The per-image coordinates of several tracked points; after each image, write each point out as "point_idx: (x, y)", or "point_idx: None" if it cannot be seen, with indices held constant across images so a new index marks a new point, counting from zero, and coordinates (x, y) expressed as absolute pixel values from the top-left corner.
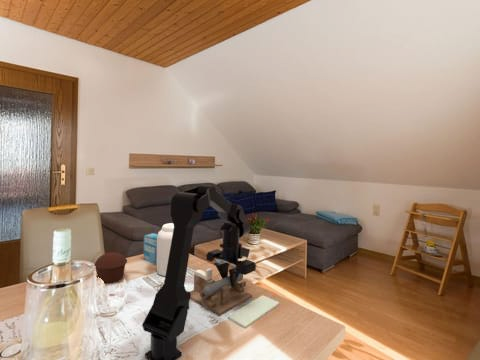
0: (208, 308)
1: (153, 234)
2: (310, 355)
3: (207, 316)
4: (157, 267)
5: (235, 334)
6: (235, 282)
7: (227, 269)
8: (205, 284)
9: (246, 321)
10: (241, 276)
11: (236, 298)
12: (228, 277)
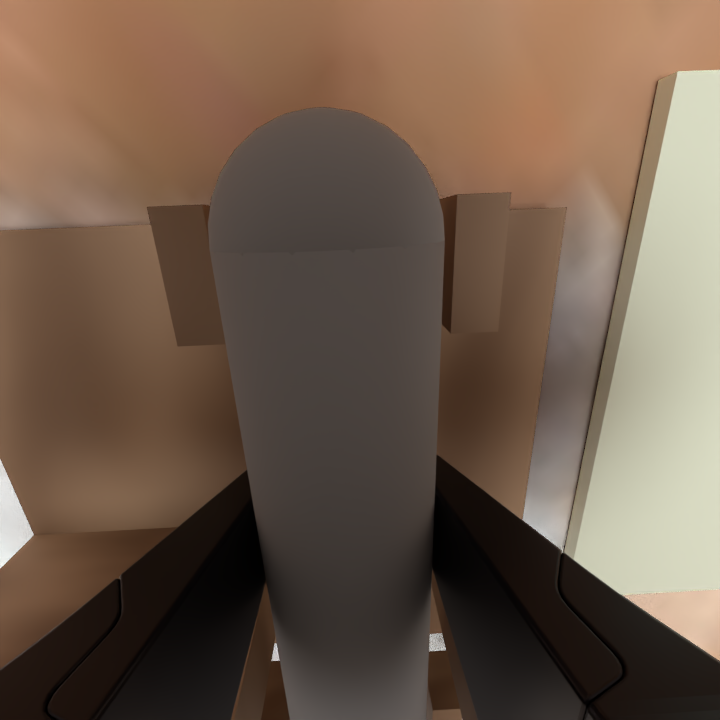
0: None
1: None
2: None
3: (436, 647)
4: None
5: (687, 636)
6: (473, 491)
7: (134, 706)
8: None
9: (716, 553)
10: (440, 260)
11: (472, 411)
12: (366, 638)
